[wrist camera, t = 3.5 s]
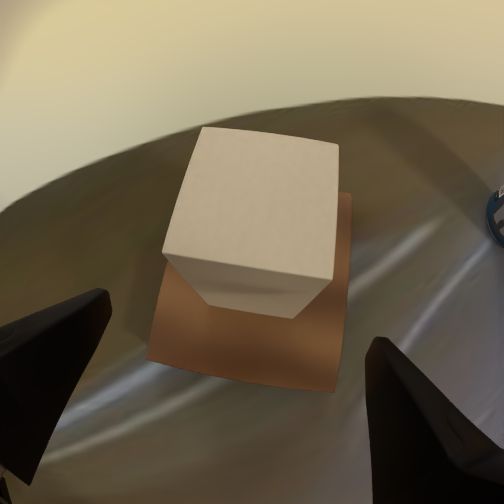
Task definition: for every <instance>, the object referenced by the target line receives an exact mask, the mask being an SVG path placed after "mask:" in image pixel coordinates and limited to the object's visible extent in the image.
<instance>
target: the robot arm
mask: <svg viewBox="0 0 504 504" xmlns="http://www.w3.org/2000/svg"><path fill="white" fill-rule="evenodd" d="M111 315H112V305H111V300H110V295H109V292H108V291H107V290H104V289H100V288H96V289H94V290H91V291H89V292H86V293H84V294H81V295H79V296H76V297H74V298H71V299H68V300H66V301H63V302H61V303H58V304H56V305H53V306H51V307H48V308H46V309H43V310H41V311H39V312H36V313H34V314H31V315H29V316H26V317H24V318H21V319H19V320H18V321H17V320H16V321H14V322H12V323H9V324H7V325H4V326H2V327H0V504H12V502H11V499H10V496H9V492H8V489H7V485H6V481H5V478H4V477H2V476H3V474H4V472H5V471H6V469H7V470H8V471H10V472H11V473H12V474H14V475H15V476H16V477H17V478H19V479H20V480H21V481H23V482H24V483H26V484H27V485H28V486H30V484H31V482H32V480H33V477H34V475H35V472H36V470H37V467H38V465H39V463H40V460H41V458H42V456H43V453H44V451H45V449H46V447H47V444H48V442H49V441H48V440H50V437H51V435H52V433H53V431H54V429H55V427H56V425H57V422H58V420H59V418H60V416H61V414H62V412H63V410H64V408H65V406H66V404H67V402H68V400H69V398H70V396H71V394H72V393H73V391H74V389H75V387H76V385H77V383H78V381H79V379H80V378H81V376H82V374H83V372H84V370H85V368H86V367H87V365H88V363H89V361H90V359H91V358H92V356H93V354H94V352H95V350H96V348H97V346H98V344H99V342H100V340H101V337H102V335H103V333H104V331H105V329H106V326H107V324H108V322H109V320H110V318H111ZM365 385H366V408H367V417H368V427H369V439H370V452H371V468H372V493H373V504H504V449H502V448H500V447H499V446H498V445H496V444H495V443H494V442H493V441H492V440H491V439H490V438H488V437H487V436H486V435H485V434H484V433H483V432H482V431H481V430H479V429H478V428H477V427H476V426H475V425H474V424H473V423H472V422H471V421H470V420H468V419H467V418H466V417H465V416H464V415H463V414H462V413H461V412H460V411H459V410H458V409H457V408H456V407H455V406H454V404H453V403H452V402H450V401H449V399H448V398H447V397H446V396H445V395H444V394H443V393H442V392H441V391H440V390H439V389H438V388H437V387H436V386H435V385H434V384H433V383H432V382H431V381H430V380H429V379H428V378H427V377H426V376H425V375H424V374H423V373H422V372H421V371H420V370H419V369H418V368H417V367H416V366H415V365H414V364H413V363H412V362H411V361H410V360H409V359H408V358H407V357H406V356H405V355H404V354H403V353H402V352H401V351H400V350H399V349H398V348H397V347H396V346H395V345H394V344H393V343H392V342H391V341H390V340H389V339H388V338H386V337H378V336H377V337H375V338H374V339H373V341H372V343H371V345H370V347H369V350H368V352H367V354H366V357H365Z"/></svg>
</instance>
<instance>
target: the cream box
mask: <svg viewBox="0 0 504 504" xmlns="http://www.w3.org/2000/svg"><path fill="white" fill-rule="evenodd" d="M338 170H339V146H338V144H333V143H328V142H322V141H317V140H311V139H305V138H299V137H293V136H286V135H279V134H272V133H264V132H256V131H246V130H237V129H225V128H212V127H202V130H201V133H200V135H199V138H198V141H197V143H196V146H195V149H194V152H193V154H192V157H191V160H190V163H189V166H188V169H187V172H186V174H185V177H184V180H183V183H182V186H181V189H180V193H179V196H178V199H177V202H176V205H175V208H174V212H173V215H172V218H171V221H170V225H169V228H168V232H167V235H166V239H165V242H164V246H163V249H162V253H163V255H164V256H165V257H166V258H167V259H168V260H169V262H170V263H171V264H172V265H173V266H174V267H175V268H176V270H177V271H178V272H179V273H180V274H181V275H182V276H183V277H184V279H185V280H186V281H187V282H188V283H189V284H190V285H191V286H192V287H193V289H194V290H195V291H196V292H197V293H198V294H199V295H200V296H201V297H202V298H203V299H204V301H205V302H206V303H207V304H208V305H212V306H217V307H222V308H228V309H234V310H239V311H245V312H251V313H257V314H264V315H270V316H277V317H283V318H290V319H293V318H294V317H295V316H296V315H297V314H298V313H299V312H300V311H301V310H302V309H304V308H305V307H306V306H307V305H308V304H309V303H310V302H311V301H312V300H313V299H314V298H315V297H316V296H317V295H318V294H319V293H320V292H321V291H322V290H323V289H324V288H325V287H326V286H327V285H328V284H329V283H330V282H331V281H332V279H333V270H334V258H335V244H336V228H337V207H338Z"/></svg>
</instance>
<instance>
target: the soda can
mask: <svg viewBox="0 0 504 504" xmlns="http://www.w3.org/2000/svg"><path fill="white" fill-rule="evenodd" d="M486 220H487V224H488V228H489V230H490V232H491V234H492V236H493V238H494V239H495V241H496V242H497V243H498V244H499V245H500V246H501V247H503V248H504V185H503V186H502V187H500V188H499V189H498V190H497V191H496V192H495V193H494V194H493V195H492V196H491V197H490V199H489V202H488V207H487V211H486Z"/></svg>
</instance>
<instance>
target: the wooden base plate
mask: <svg viewBox="0 0 504 504" xmlns="http://www.w3.org/2000/svg"><path fill="white" fill-rule="evenodd" d="M351 226H352V194H350V193H345V192H339V191H338V207H337V228H336V244H335V258H334V270H333V279H332V281H331V282H330V283H329V284H328V285H327V286H326V287H325V288H324V289H323V290H322V291H321V292H320V293H319V294H318V295H317V296H316V297H315V298H314V299H313V300H312V301H311V302H310V303H309V304H308V305H307V306H306V307H305V308H304V309H302V310H301V311H300V312H299V313H298V314H297V315H296V316H295V317H294V318H293V319H290V318H283V317H277V316H270V315H264V314H257V313H251V312H245V311H239V310H234V309H228V308H222V307H217V306H212V305H208V304H207V303H206V302H205V301H204V299H203V298H202V297H201V296H200V295H199V294H198V293H197V292H196V291H195V290H194V289H193V287H192V286H191V285H190V284H189V283H188V282H187V281H186V280H185V279H184V277H183V276H182V275H181V274H180V273H179V272H178V271H177V270H176V268H175V267H174V266H173V265H172V264H171V263H170V262H169V260H168V261H167V264H166V268H165V272H164V276H163V280H162V284H161V289H160V293H159V297H158V301H157V306H156V310H155V315H154V319H153V324H152V329H151V334H150V338H149V344H148V349H147V354H146V359H147V360H150V361H154V362H157V363H161V364H165V365H169V366H173V367H177V368H181V369H185V370H189V371H193V372H198V373H202V374H207V375H212V376H216V377H222V378H227V379H232V380H238V381H243V382H249V383H255V384H262V385H269V386H276V387H283V388H292V389H301V390H310V391H322V392H335V388H336V382H337V376H338V370H339V363H340V356H341V349H342V341H343V333H344V324H345V315H346V305H347V294H348V282H349V268H350V251H351Z"/></svg>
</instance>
